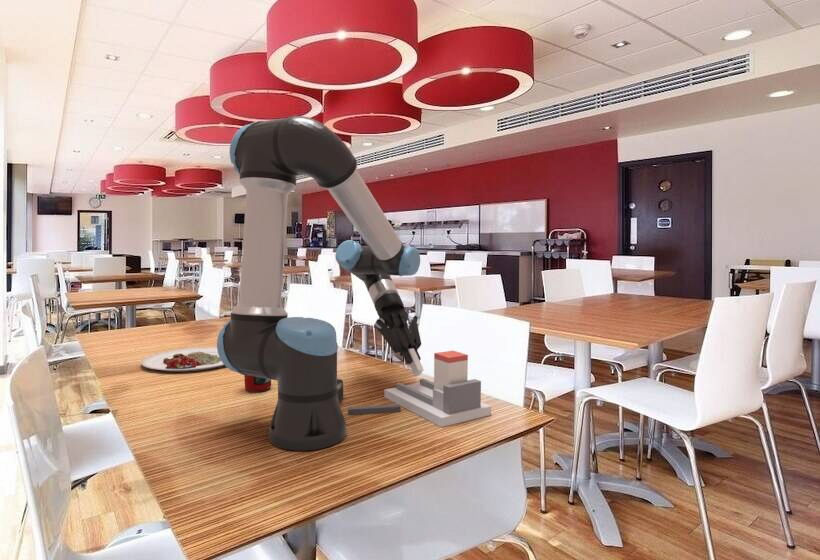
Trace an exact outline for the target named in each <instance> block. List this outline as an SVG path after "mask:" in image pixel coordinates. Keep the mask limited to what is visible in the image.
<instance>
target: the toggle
mask: <svg viewBox="0 0 820 560" xmlns="http://www.w3.org/2000/svg"><path fill="white" fill-rule="evenodd" d="M433 355H434V357H433V361H434V362H433V364H434V365H433V368H434V369H433V375H434V376H433V383H434V389H436V388H438V389H440V390H442V391H443V385H447V384H452V383H457V382H463V381H468V373H469V372H468V369H469V367H468V363H469V357H468V356H469V355H468V354H466V353H462V352H459V351H456V350H448V351H447V350H446V351H441V352H440V351H439V352H434V354H433Z"/></svg>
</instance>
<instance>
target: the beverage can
mask: <svg viewBox="0 0 820 560" xmlns="http://www.w3.org/2000/svg"><path fill="white" fill-rule="evenodd" d="M243 376H244V378H243V379H244V388H245V389H246V390H247V391H249V392H251V393H252V392H253V393H258V392H259V393H260V392H261V393H262V392H264V391H267V390H268V389H269V388H271V387H272V379H266V378H261V377H256V376H246V375H243Z"/></svg>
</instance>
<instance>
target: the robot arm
mask: <svg viewBox="0 0 820 560" xmlns="http://www.w3.org/2000/svg"><path fill="white" fill-rule="evenodd" d="M229 145H230V146H229V159H230V162H231V164H233V169H234V170H235V172H236V173H237V174H238V175H239V183H240V185H242V186H243V189H245V191H246V194H245V195H246V197H245V207H244V208H245V209H244V223H243V239H242V257H241V267H240V268H241V270H240V285H239V301H238V302H239V303H238V304H237V305H236V306H235V307H234V308H233V309H231V311H230V320H227V322H225V323H224V324H223V327H222V328H221V329H220V330H219V332H218V335H217V339H216V347H217V351H218V355H219V357H220V359H221V361H222V363H223V364H224V365H223V366H225V367H226V368H227V369H228V370H231V371H232V372H234V373H238V374H241V376H242V375H243V376H244V375H246V376H256V377H261V378H266V379H271V381H272V380H273V381H276V382H277V403H276V405H275V408H274V411H273V414H272V418H271V421H270V425H269V429H268V431H269V433H268V434H269V435H268V438H269V442H270V444H272V446H275V447H277V448H279V449H283V450H286V451H287V450H288V451H295V452H296V451H298V452H299V451H300V452H301V451H302V452H303V451H304V452H305V451H306V452H307V451H313V450H314V451H315V450H316V451H317V450H321V449H325V448H328V447H332V446H334V445H336V444H339V443H340V442H342V441H343V440H344V439H345V437H346V435H347V422H346V419H345V415H344V414H343V410H342V407H341V405H340V402H339V401H338V398H337V379H338V348H339V344H338V341H337V340H338V339H337V331H336V328H335V327H334V325H332V324H331V323H330V322H328V321H326V320H322V319H319V318H314V317H303V316H291V317H288V312H287V311H286V310H285V309H284V308H283V306H282V299H283V298H282V296H283V283H284V282H283V277H284V262H285V250H286V249H285V248H286V233H287V217H288V198H289V195H290V194H291V193H293V191H295V189H296V187H297V176H302V175H304V176H308V177H310V178H311V179H313V180H314V181H315V182H316V183H317V185H318V187H320V188H321V189H325V190H328V192H329V193H330V195H331V196H332V199H334V200H335V202H336V203H337V205H338V206H339V207H340V209H341V210H342V211H343V213H344V215H345V216H346V217H347V219H348V220H349V221H350V223H351V224H352V226H353V227H354V228H355V230H356V231H357V232H358V234H359V235H360V237H361V239H362V240H363V241H364V242H365V244H366V245H362V244H360V243H359V242H356V241H354V240H352V239H347V240H345V241H343V242H342V243H340V245H338V247H337V248H336V251H335V260H336V263H337V264H338V265H339V266H341V267H342V268H343V270H345V271H347V272H348V273H351V274H352V275H353V276H355V277H356V278H358V279H359V280H360V281H362V282H363V283H364V285H365V288H366V289H367V292H368V294H369V296H370V299H371V301H372V303H373V305H374V309H375V312H376V314H377V315H378V317H379V318H377V319H376V320H375V322H374V324H373V327H374V328H375V329H376V330H377V331H378V332H379V333H380V334H381V335H382V338H383V339H384V340H385V342H386V343H387V344H388V346H389V347H390V349H391V350H392V352H393V353H394V354H398V353H399V356H401V357H403V360H404V361H405V363H406V364H407V365H409V367H410V370H411V371H412V373H413V376H414V377H419V376H421V374H422V373H423V372H424V368H423V366H422V363H421V360H422V359H421V356H420V353H419V351H418V350H419V349H420V347H421V346H422V340H421V339H422V338H421V335H420V332H419V325H418V320H419V319H418V318H419V317H418V316H417V315H413V316H411V315H409V313H408V312H407V311H406V310H405V306H404V303H403V300H402V298H401V296H400V294H399V291H398V289H397V287H396V284H395V283H394V281H393V279H392V277H391V276H395V277H396V276H398V277H404V276H406V277H408V276H409V277H410V276H414V275H415V274H417V272H418V271H419V269H420V266H421V256H420V252H419V250H418V249H417V247H414V246H409V245H406V246H405V244H404V243H403V242H402V240H401V239H400V237H399V236H398V234H397V232H396V231H395V229H394V228H393V226H392V225H391V223H390V221H389V219H388V218H387V216H386V215H385V213H384V212H383V210H382V209H381V207H380V205H379V203H378V202H377V200H376V198H375V197H374V196H373V194H372V192H371V190H370V189H369V187H368V185H367V184H366V182H365V181H364V179H363V178H362V176H361V174H360V173H359V171H358V161H357V159H356V157H355V156H354V154H353V153H352V151H351V149H350V148H349V147H348V145H347V144H346V143H345V142H344V141H343V140H342V138H340V137H339V136H338V135H337V134H336V133H335V132H334V131H333V130H331V128H329V127H327V125H324V124H323V123H322V122H320V121H318V120H316V119H314V118H312V117H308V116H303V115H293V116H289V117H285V118H284V117H283V118H277V119H270V120H258V121H254V122H251V123H249V124H245V125H243V126H242V127H240V128H239V129H238V130H236V132H235V133H234V134H233V136H232V139H231V142H230V144H229ZM407 321H408V322H407Z"/></svg>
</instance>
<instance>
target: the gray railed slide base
mask: <svg viewBox="0 0 820 560" xmlns="http://www.w3.org/2000/svg"><path fill="white" fill-rule="evenodd" d="M481 396H482V380H479V379H477V378H476V379H475V378H474V379H469V380H468V379H467V381H463V382H457V383H452V384H447V385H443V391H442V390H440V389H438V388H436V389H434V381H431V380H429V379H426V378H419V382H418V383H411V384H404V383H402V382H396V383H395V387H391V388H390V387H389V388H386V389H384V398H385V399H388V400H389V401H390V402H393V403H395V405H396V404H400V406H401V408H404V409H406V410H408V411H410V412H412V413H413V414H416V415H417V416H419V417H422V418H423V419H425V420H427V421H428V422H431V423H433V424H434V425H436V426H439V427H440V428H443V427H448V426H451V425H456V424H460V423H465V422H467V421H468V422H469V421H472V420H476V419H481V418H485V417H489V416H491V415H492V406H491V405H489V404H486V403H484V402H482V401H481V400H482V399H481V398H482V397H481Z"/></svg>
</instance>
